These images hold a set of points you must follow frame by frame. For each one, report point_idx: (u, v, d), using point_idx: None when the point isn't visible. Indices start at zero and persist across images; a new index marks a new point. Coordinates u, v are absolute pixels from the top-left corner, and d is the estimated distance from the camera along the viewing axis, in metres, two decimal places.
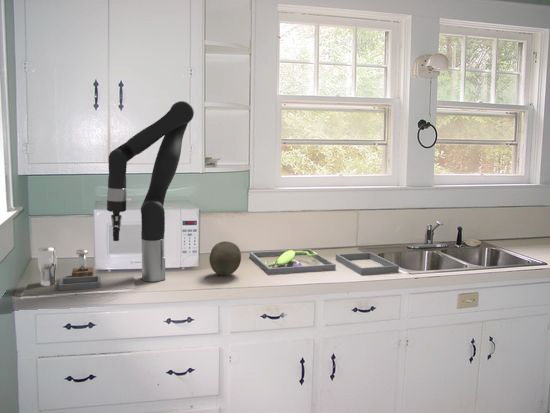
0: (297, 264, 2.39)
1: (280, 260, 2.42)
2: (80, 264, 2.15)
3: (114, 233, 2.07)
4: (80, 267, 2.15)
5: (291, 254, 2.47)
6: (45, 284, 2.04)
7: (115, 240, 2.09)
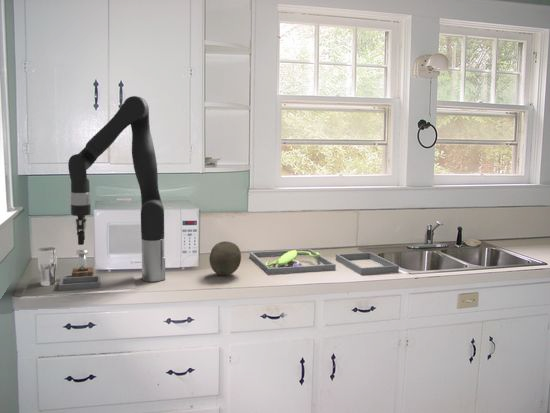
0: (297, 264, 2.39)
1: (281, 260, 2.42)
2: (80, 264, 2.15)
3: (78, 237, 2.09)
4: (80, 267, 2.15)
5: (293, 254, 2.47)
6: (45, 284, 2.04)
7: (80, 244, 2.10)
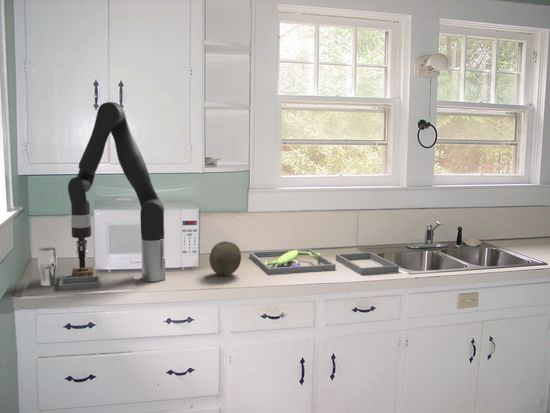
0: (295, 264, 2.39)
1: (280, 259, 2.43)
2: None
3: (80, 260, 2.13)
4: None
5: (292, 254, 2.48)
6: (45, 284, 2.04)
7: (81, 267, 2.14)
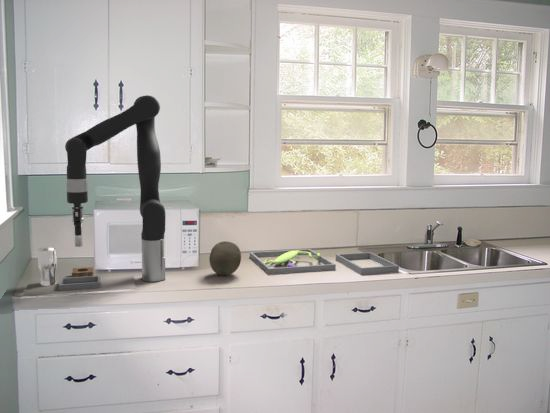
0: (292, 264, 2.39)
1: (277, 259, 2.44)
2: None
3: (75, 227, 2.00)
4: None
5: (291, 254, 2.48)
6: (45, 284, 2.04)
7: (77, 235, 2.02)
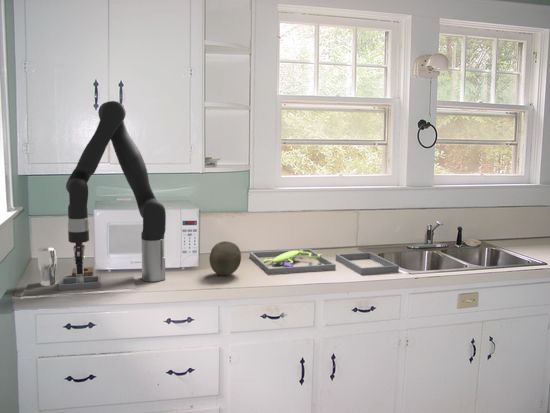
0: (288, 263, 2.40)
1: (275, 258, 2.46)
2: None
3: (77, 266, 2.02)
4: None
5: (291, 253, 2.49)
6: (45, 284, 2.04)
7: (79, 273, 2.03)
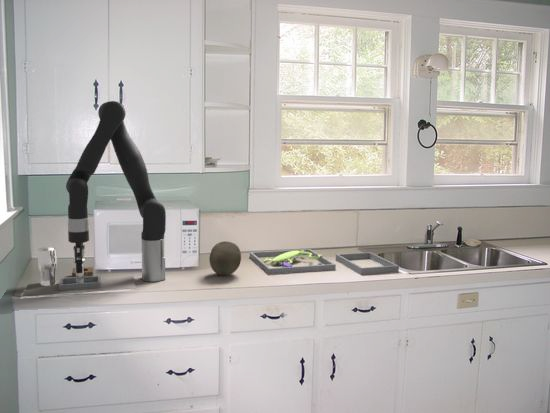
0: (287, 263, 2.40)
1: (275, 258, 2.46)
2: (77, 273, 2.03)
3: (77, 265, 1.99)
4: (77, 276, 2.03)
5: (291, 253, 2.49)
6: (45, 284, 2.04)
7: (78, 272, 2.00)
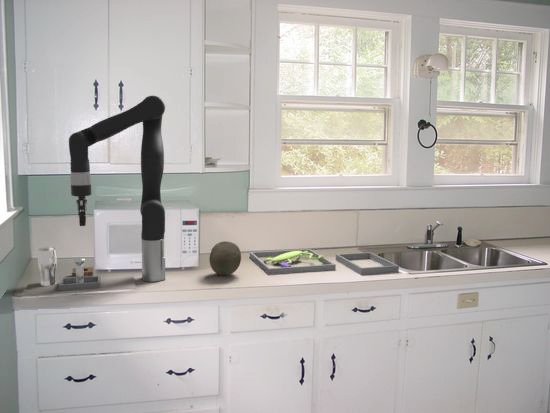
0: (285, 263, 2.40)
1: (275, 257, 2.47)
2: (77, 273, 2.03)
3: (80, 218, 2.03)
4: (77, 276, 2.03)
5: (292, 253, 2.49)
6: (45, 284, 2.04)
7: (82, 225, 2.04)
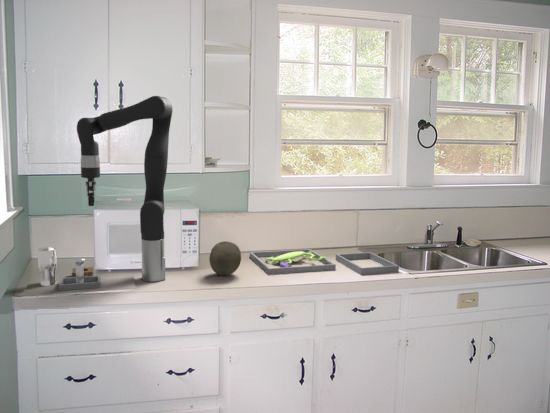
0: (284, 263, 2.40)
1: (276, 257, 2.47)
2: (77, 273, 2.03)
3: (89, 198, 2.16)
4: (77, 276, 2.03)
5: (293, 254, 2.48)
6: (45, 284, 2.04)
7: (90, 205, 2.17)
